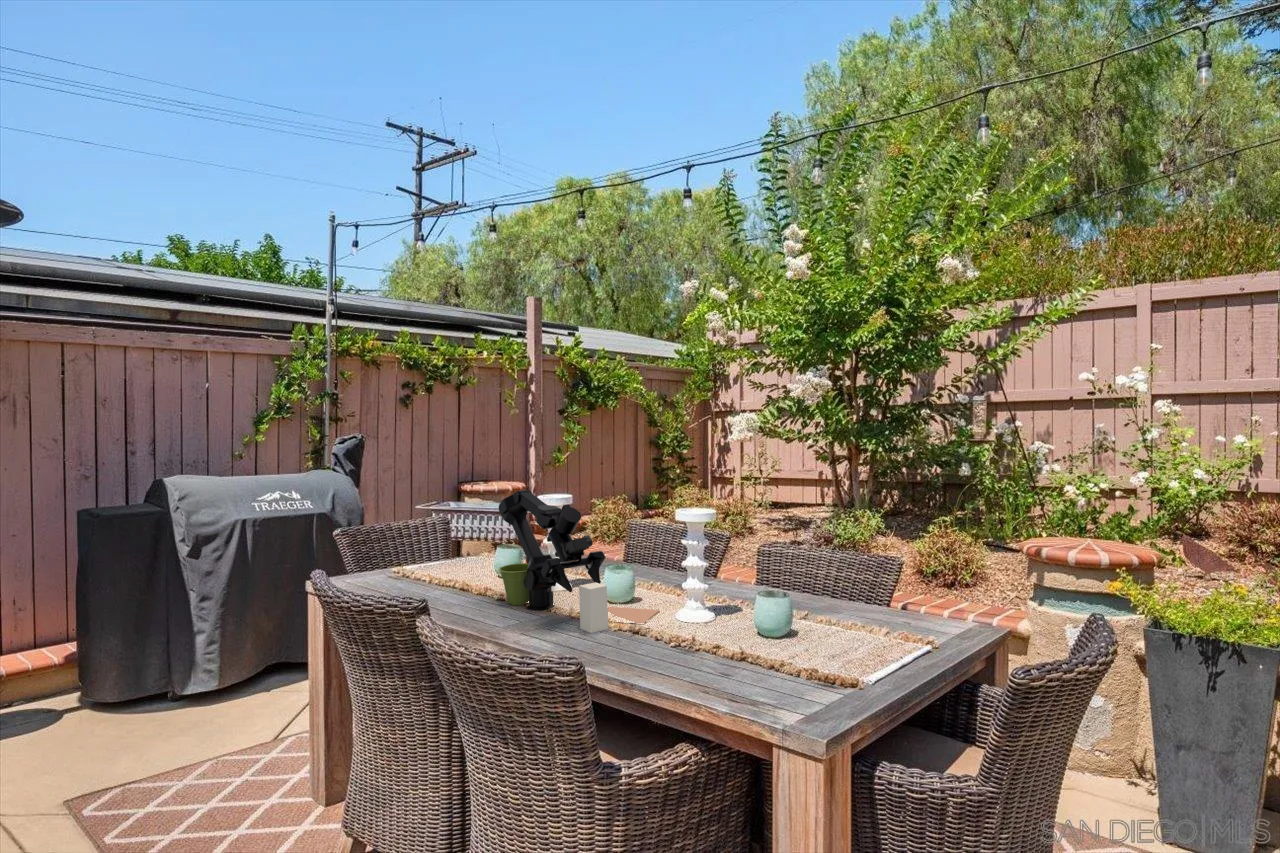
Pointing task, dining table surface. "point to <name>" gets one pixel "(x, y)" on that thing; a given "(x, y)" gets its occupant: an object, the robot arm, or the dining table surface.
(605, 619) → the cream block
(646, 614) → the terracotta mat
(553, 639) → the dining table surface
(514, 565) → the plant pot
